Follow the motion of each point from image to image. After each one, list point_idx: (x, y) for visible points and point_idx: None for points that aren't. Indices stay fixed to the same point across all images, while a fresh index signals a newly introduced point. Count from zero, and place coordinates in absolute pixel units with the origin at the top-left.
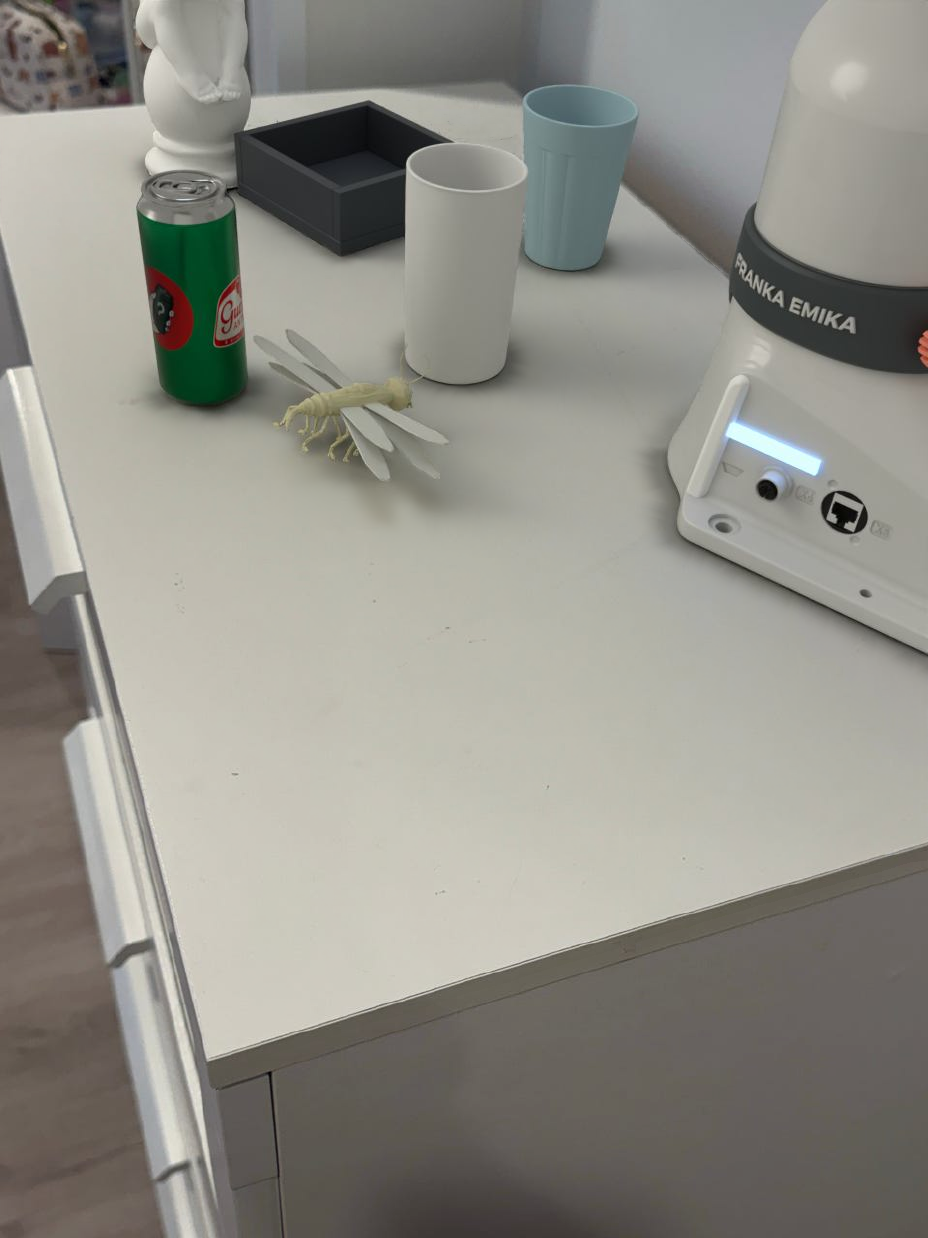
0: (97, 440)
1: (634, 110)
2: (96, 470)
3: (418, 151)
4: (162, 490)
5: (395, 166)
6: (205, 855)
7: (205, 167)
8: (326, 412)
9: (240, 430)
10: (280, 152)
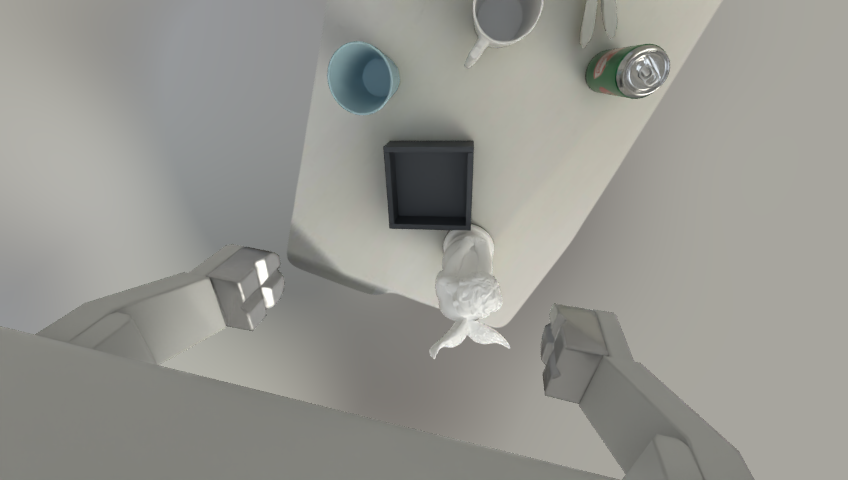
0: None
1: (334, 58)
2: (686, 38)
3: (514, 40)
4: (679, 4)
5: (398, 193)
6: None
7: (478, 234)
8: None
9: (619, 28)
10: (448, 220)
